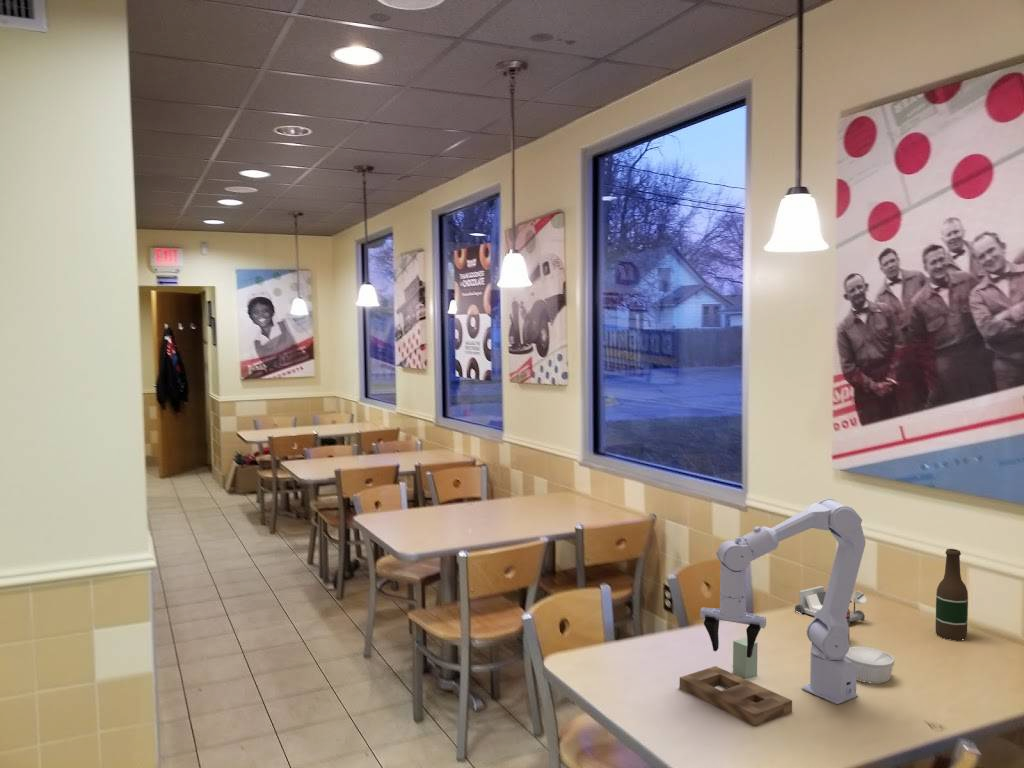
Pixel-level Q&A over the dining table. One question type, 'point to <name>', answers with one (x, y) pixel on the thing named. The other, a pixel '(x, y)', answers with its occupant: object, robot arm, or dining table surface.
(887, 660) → the ramekin
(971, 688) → the dining table surface
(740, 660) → the peg
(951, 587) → the beer bottle
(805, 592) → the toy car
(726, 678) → the socket board
